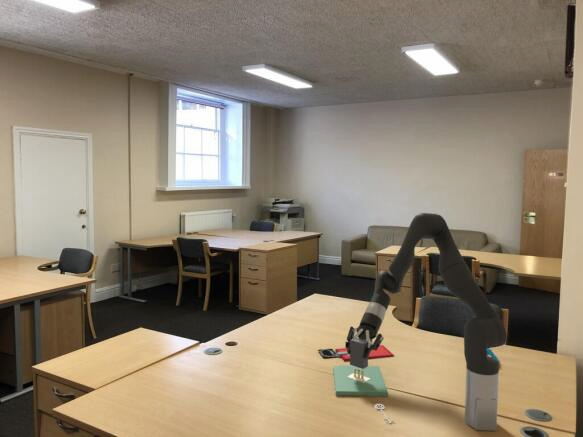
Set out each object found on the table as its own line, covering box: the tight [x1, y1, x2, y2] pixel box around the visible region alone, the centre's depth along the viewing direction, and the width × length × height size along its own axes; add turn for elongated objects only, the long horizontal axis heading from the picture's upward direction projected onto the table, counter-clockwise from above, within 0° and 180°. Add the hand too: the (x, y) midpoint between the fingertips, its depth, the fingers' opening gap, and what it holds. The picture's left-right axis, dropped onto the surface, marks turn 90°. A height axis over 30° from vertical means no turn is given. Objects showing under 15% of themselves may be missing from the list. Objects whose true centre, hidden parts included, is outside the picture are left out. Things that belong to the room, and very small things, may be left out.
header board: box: [332, 364, 389, 397], centre depth 169 cm, size 22×18×4 cm
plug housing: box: [349, 337, 369, 369], centre depth 168 cm, size 3×6×10 cm, turn 49°
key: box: [374, 403, 391, 424], centre depth 146 cm, size 12×1×3 cm
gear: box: [487, 348, 500, 362], centre depth 189 cm, size 11×6×10 cm
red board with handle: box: [317, 341, 395, 362], centre depth 197 cm, size 30×3×15 cm
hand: (356, 355), depth 167 cm, fingers closed on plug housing, 6 cm apart
